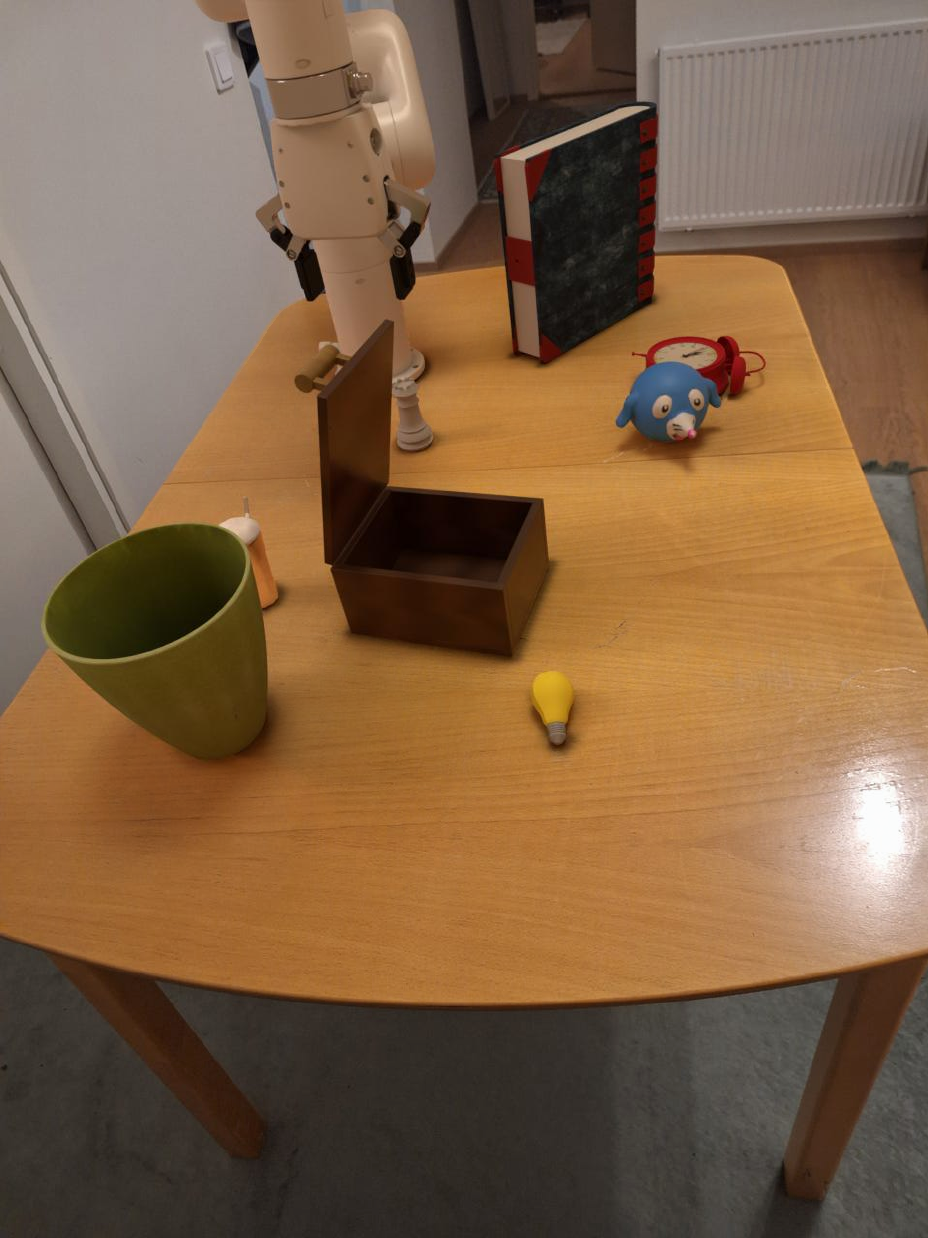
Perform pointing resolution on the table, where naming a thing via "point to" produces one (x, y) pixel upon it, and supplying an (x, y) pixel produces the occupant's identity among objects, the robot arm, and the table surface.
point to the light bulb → (553, 702)
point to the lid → (352, 432)
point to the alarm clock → (705, 358)
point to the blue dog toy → (668, 402)
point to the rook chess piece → (410, 417)
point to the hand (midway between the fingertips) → (360, 294)
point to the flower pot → (169, 635)
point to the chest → (445, 569)
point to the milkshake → (255, 554)
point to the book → (579, 227)
